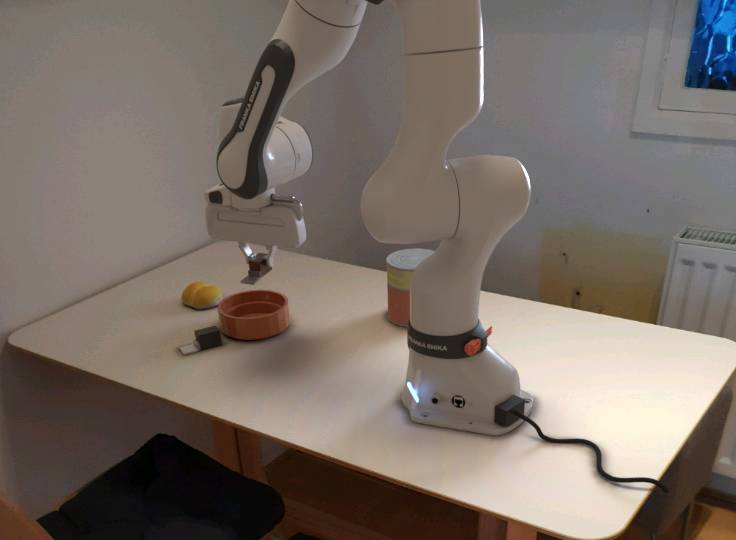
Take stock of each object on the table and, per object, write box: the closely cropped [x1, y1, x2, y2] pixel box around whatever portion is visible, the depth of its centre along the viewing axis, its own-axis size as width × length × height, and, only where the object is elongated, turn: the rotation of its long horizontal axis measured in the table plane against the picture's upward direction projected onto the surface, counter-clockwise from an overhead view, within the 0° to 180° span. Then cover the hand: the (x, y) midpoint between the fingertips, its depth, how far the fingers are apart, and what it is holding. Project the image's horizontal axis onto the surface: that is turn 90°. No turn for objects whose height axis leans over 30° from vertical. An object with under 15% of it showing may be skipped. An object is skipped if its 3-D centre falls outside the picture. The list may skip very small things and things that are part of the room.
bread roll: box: [181, 281, 224, 310], centre depth 178 cm, size 8×9×4 cm
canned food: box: [385, 247, 436, 328], centre depth 165 cm, size 11×11×12 cm
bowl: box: [217, 289, 291, 341], centre depth 167 cm, size 14×14×5 cm
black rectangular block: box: [179, 325, 223, 356], centre depth 161 cm, size 8×3×3 cm, turn 116°
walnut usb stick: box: [239, 252, 273, 286], centre depth 160 cm, size 8×3×3 cm, turn 156°
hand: (260, 264), depth 161 cm, fingers closed on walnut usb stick, 2 cm apart
